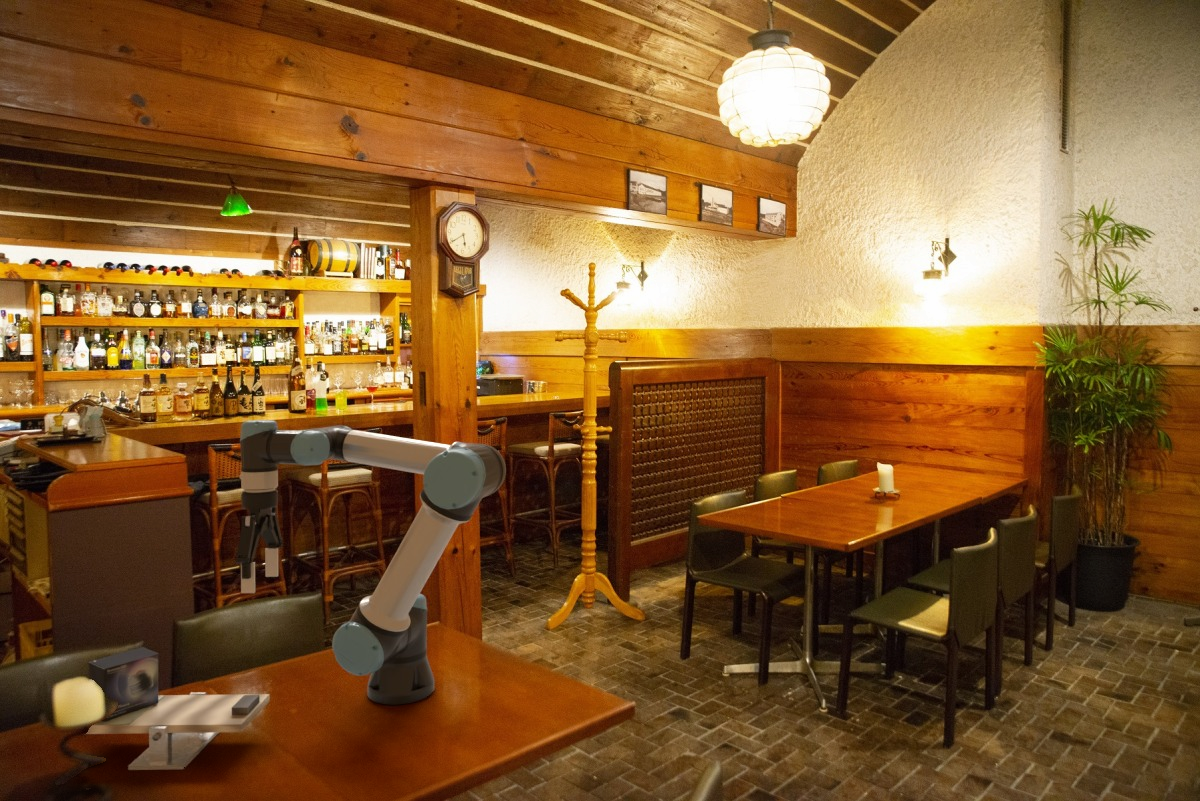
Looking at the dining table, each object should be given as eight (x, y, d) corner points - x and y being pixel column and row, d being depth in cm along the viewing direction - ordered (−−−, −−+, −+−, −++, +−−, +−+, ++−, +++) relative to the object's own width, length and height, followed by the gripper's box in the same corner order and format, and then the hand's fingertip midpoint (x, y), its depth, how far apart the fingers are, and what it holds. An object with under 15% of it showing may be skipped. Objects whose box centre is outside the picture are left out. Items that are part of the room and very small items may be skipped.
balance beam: (269, 701, 164) (269, 687, 164) (241, 732, 150) (241, 716, 150) (121, 702, 163) (121, 688, 163) (79, 734, 149) (79, 718, 149)
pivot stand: (224, 726, 166) (224, 690, 165) (183, 769, 148) (182, 729, 147) (176, 726, 165) (175, 691, 165) (128, 770, 147) (127, 730, 147)
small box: (104, 723, 150) (103, 668, 149) (87, 715, 153) (86, 661, 153) (160, 703, 158) (159, 651, 158) (142, 696, 162) (142, 645, 162)
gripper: (264, 481, 188) (264, 570, 189) (217, 498, 163) (218, 600, 164) (296, 481, 189) (296, 570, 189) (254, 498, 164) (255, 600, 164)
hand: (260, 584), depth 177 cm, fingers open, 13 cm apart
